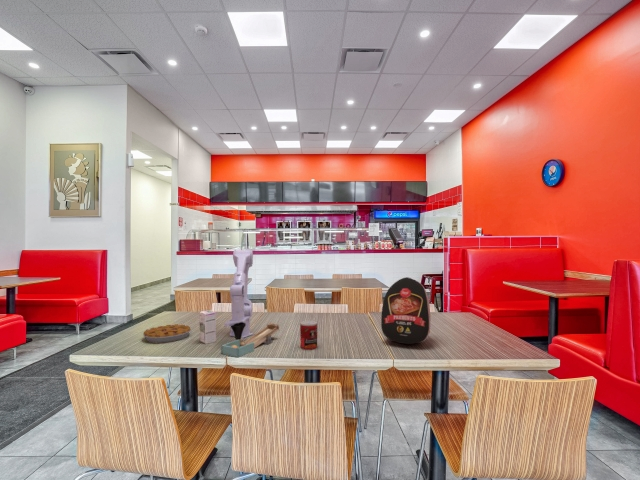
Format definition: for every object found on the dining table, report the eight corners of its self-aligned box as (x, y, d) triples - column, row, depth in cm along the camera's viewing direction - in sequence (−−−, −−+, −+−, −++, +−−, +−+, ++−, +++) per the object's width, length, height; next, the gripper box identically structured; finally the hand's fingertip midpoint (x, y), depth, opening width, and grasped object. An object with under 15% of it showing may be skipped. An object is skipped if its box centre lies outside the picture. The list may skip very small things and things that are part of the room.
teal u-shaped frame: (221, 353, 137) (221, 345, 137) (238, 347, 145) (238, 339, 145) (237, 357, 132) (237, 348, 132) (254, 350, 140) (254, 342, 140)
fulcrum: (252, 342, 153) (252, 334, 153) (258, 339, 156) (258, 332, 156) (267, 344, 148) (267, 337, 148) (272, 342, 151) (272, 335, 151)
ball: (235, 349, 139) (229, 354, 136) (232, 342, 138) (227, 348, 135) (240, 351, 137) (235, 356, 135) (238, 344, 136) (232, 349, 134)
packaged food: (379, 346, 144) (378, 279, 145) (385, 334, 163) (384, 275, 163) (430, 351, 137) (429, 280, 137) (431, 338, 155) (430, 276, 156)
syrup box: (216, 341, 154) (216, 311, 155) (204, 344, 150) (204, 313, 150) (210, 339, 158) (210, 309, 158) (199, 341, 154) (198, 311, 154)
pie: (149, 347, 147) (149, 336, 147) (138, 337, 163) (138, 327, 163) (197, 338, 161) (197, 328, 161) (182, 329, 178) (182, 320, 178)
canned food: (304, 350, 139) (304, 325, 139) (297, 345, 146) (297, 321, 146) (320, 348, 143) (320, 323, 143) (312, 343, 150) (312, 319, 150)
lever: (232, 343, 150) (231, 337, 150) (257, 326, 165) (256, 321, 165) (254, 347, 143) (253, 342, 143) (279, 329, 158) (278, 324, 158)
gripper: (232, 313, 141) (232, 344, 141) (255, 308, 154) (255, 336, 154) (221, 312, 145) (221, 342, 145) (244, 306, 157) (244, 334, 157)
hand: (238, 339), depth 149 cm, fingers closed
